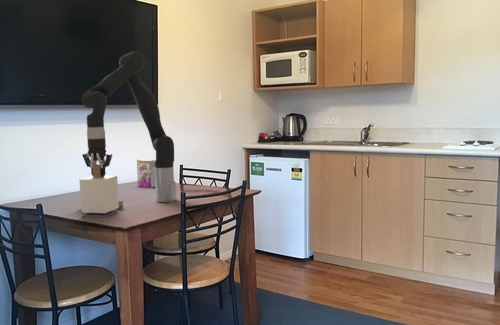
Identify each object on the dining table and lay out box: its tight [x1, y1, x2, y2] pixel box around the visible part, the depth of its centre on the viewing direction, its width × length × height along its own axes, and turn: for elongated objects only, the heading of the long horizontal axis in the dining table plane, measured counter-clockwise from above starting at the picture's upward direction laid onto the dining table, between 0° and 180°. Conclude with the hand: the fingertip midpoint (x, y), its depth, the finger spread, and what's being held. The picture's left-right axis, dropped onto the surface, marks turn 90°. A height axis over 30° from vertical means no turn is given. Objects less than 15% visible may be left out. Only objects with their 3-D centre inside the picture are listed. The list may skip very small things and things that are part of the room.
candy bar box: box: [136, 158, 156, 189], centre depth 279 cm, size 11×5×16 cm, turn 58°
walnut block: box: [114, 199, 124, 211], centre depth 218 cm, size 4×4×4 cm
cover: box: [78, 163, 120, 214], centre depth 205 cm, size 12×12×21 cm
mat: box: [82, 209, 119, 218], centre depth 207 cm, size 11×11×1 cm
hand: (98, 176), depth 205 cm, fingers closed on cover, 3 cm apart
